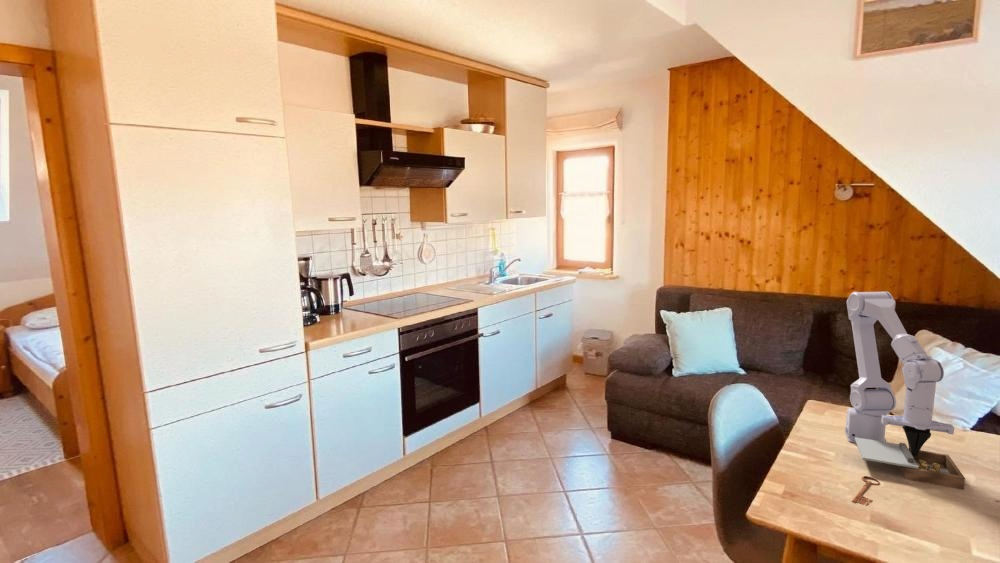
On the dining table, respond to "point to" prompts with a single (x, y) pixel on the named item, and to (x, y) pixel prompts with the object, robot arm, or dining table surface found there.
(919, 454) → the box
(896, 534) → the dining table surface
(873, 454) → the lid
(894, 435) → the dining table surface
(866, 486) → the key
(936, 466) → the dice set
